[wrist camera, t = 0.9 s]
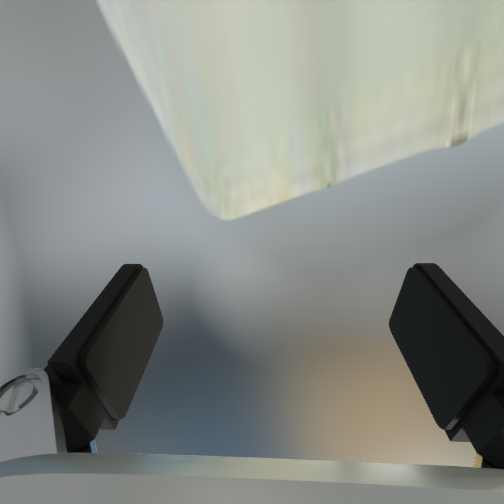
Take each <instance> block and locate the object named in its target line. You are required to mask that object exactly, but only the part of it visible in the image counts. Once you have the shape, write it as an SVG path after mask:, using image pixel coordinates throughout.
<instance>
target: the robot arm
mask: <svg viewBox="0 0 504 504" xmlns="http://www.w3.org/2000/svg"><path fill="white" fill-rule="evenodd" d="M162 327H163V317H162V314H161V311H160V308H159V304H158V301H157V298H156V295H155V292H154V288H153V285H152V282H151V279H150V276H149V273H148V270H147V269H146V268H143V266H142V265H141V264H124V265H123V266H122V267H121V268H120V269H119V270H118V272H117V273H116V274H115V276H114V277H113V278H112V279H111V281H110V282H109V283H108V285H107V286H106V287H105V288H104V290H103V291H102V292H101V294H100V295H99V296H98V297H97V299H96V300H95V301H94V303H93V304H92V305H91V306H90V308H89V309H88V310H87V312H86V313H85V314H84V315H83V317H82V318H81V319H80V321H79V322H78V323H77V324H76V326H75V327H74V328H73V330H72V331H71V332H70V333H69V335H68V336H67V337H66V339H65V340H64V341H63V343H62V344H61V345H60V346H59V348H58V349H57V350H56V351H55V353H54V354H53V355H52V357H51V358H50V359H49V361H48V363H49V364H48V365H47V366H46V368H45V369H44V370H42V369H36V368H32V369H26V370H23V371H20V372H18V373H15V374H13V375H11V376H10V377H8V378H6V379H4V380H3V381H2V382H0V504H504V336H503V335H502V334H501V333H500V332H499V331H498V330H497V329H496V328H495V327H494V325H493V324H492V323H491V322H490V321H489V320H488V319H487V318H486V317H485V316H484V315H483V314H482V312H481V311H480V310H479V309H478V308H477V307H476V306H475V305H474V304H473V303H472V302H471V301H470V300H469V298H468V297H467V296H466V295H465V294H464V293H463V292H462V291H461V290H460V289H459V288H458V287H457V286H456V284H455V283H454V282H452V280H451V279H450V278H449V277H448V276H447V275H446V274H445V273H444V272H443V271H442V269H441V268H439V266H438V265H436V264H434V263H417V264H415V265H414V266H413V267H412V268H409V269H408V271H407V274H406V276H405V279H404V282H403V285H402V287H401V290H400V293H399V296H398V298H397V302H396V304H395V307H394V310H393V312H392V315H391V318H390V321H389V327H390V330H391V333H392V335H393V337H394V339H395V341H396V343H397V345H398V347H399V349H400V351H401V353H402V355H403V357H404V359H405V361H406V363H407V365H408V367H409V369H410V371H411V373H412V375H413V377H414V379H415V381H416V383H417V385H418V387H419V389H420V391H421V393H422V395H423V397H424V399H425V401H426V403H427V405H428V407H429V409H430V411H431V413H432V415H433V417H434V419H435V421H436V423H437V424H438V426H439V427H440V428H441V429H444V430H445V432H446V434H447V436H448V438H449V439H450V441H456V442H457V441H459V442H471V443H472V445H473V447H474V448H475V450H476V455H475V461H474V466H473V467H457V466H438V465H415V464H394V463H371V462H349V461H323V460H298V459H274V458H273V459H272V458H248V457H221V456H192V455H163V454H134V453H133V454H132V453H131V454H130V453H129V454H128V453H97V449H96V445H95V441H94V439H95V437H96V435H97V433H98V431H99V429H109V430H115V429H116V426H117V424H118V421H119V419H122V418H124V417H125V415H126V413H127V411H128V409H129V406H130V404H131V401H132V399H133V397H134V394H135V392H136V389H137V387H138V385H139V382H140V380H141V378H142V375H143V373H144V370H145V368H146V366H147V363H148V361H149V358H150V356H151V353H152V351H153V349H154V347H155V344H156V342H157V339H158V337H159V335H160V332H161V330H162Z"/></svg>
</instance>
